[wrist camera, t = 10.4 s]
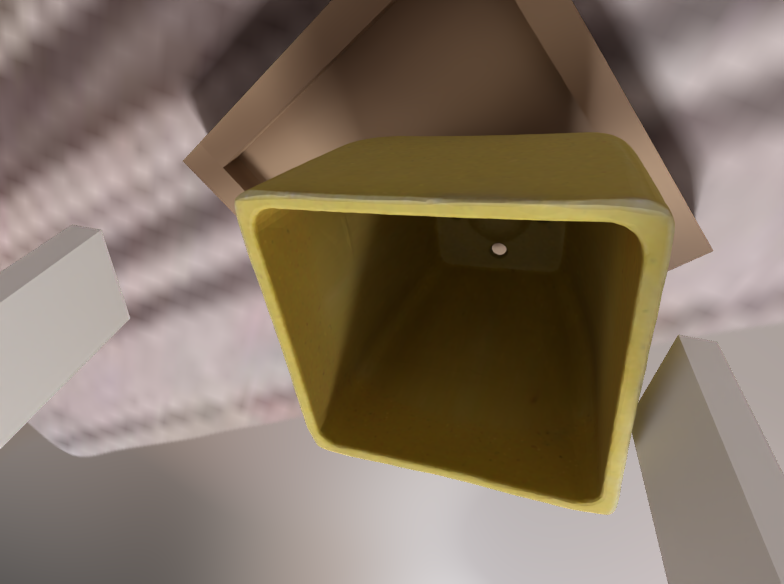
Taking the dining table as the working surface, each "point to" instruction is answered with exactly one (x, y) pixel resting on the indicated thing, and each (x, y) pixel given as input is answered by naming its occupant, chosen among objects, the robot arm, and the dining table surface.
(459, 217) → the flower pot
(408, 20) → the walnut tray
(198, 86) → the dining table surface
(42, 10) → the dining table surface
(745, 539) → the robot arm
